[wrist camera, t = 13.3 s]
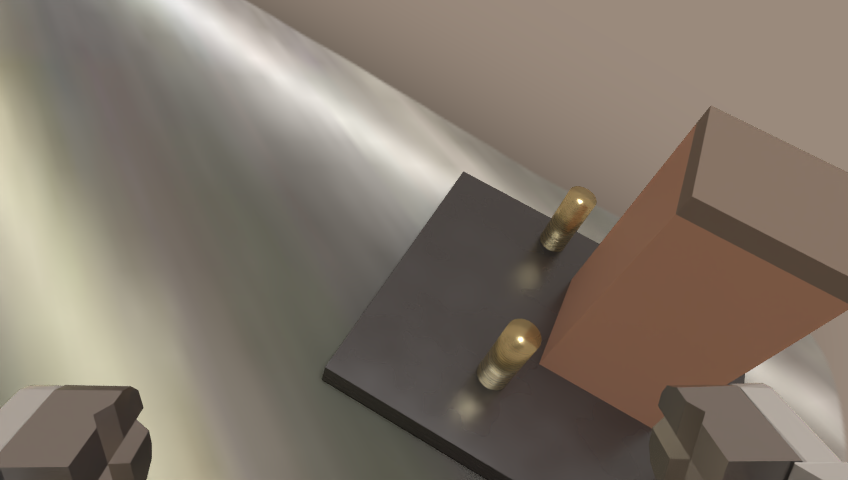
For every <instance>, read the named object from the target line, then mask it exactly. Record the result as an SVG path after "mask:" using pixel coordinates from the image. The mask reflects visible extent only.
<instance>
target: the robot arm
mask: <svg viewBox="0 0 848 480" xmlns="http://www.w3.org/2000/svg"><path fill="white" fill-rule="evenodd" d="M658 406H659V408H660V410H661V411H662V413H663V415H664V416H665V417H663V418H662V419H661V420H660V421H659V422H658V423H657V424H656V425H655V426H653V427H652V432H651V436H650V441H649V452H650V463H651V466H652V469H653V473H654V476H655V478H656V480H848V462H842V461H841V460H840V459H839V458H838V457H837V456H836V455H835V454H834V453H833V452H832V451H831V450H830V449H829V447H828V446H827V445H826V444H825V443H824V442H823V441H822V440H821V439H820V438H819V437H818V436H817V435H816V434H815V433H814V432H813V430H812V429H811V428H810V427H809V426H808V425H807V424H806V423H805V422H804V421H803V420H802V419H801V418H800V417H799V416H798V415H797V413H796V412H795V411H794V410H793V409H792V408H791V407H790V406H789V405H788V404H787V403H786V402H785V401H784V400H783V399H782V398H781V397H780V395H779V394H778V393H777V392H776V391H775V390H774V389H773V388H771V387H769V386H767V385H765V384H763V383H746V384H730V385H667V386H666V387H665V389H664V390H663V391H662V393H661V396H660V400H659V404H658ZM142 409H143V405H142V401H141V398H140V395H139V391H138V390H137V389H135V388H133V387H131V386H84V385H64V386H59V385H30V386H27V387H25V388H22V389H19V390H18V391H17V393H16V394H15V395H14V396H13V397H12V398H11V399H10V400H9V401H8V402H7V403H6V404H5V405H4V406H3V407H2V408H1V409H0V480H146V479H147V475H148V471H149V467H150V463H151V459H152V443H151V438H150V434H149V430H148V429H147V428H145V427H144V426H143V425H142V424H141V423H140V422H139V421H137V420H136V419H137V417H138V415H139V414H140V412H141V411H142Z"/></svg>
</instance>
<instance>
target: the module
mask: <svg viewBox="0 0 848 480" xmlns="http://www.w3.org/2000/svg"><path fill="white" fill-rule="evenodd" d="M847 310H848V172H846V171H844V170H842V169H840V168H838V167H835V166H834V165H831V164H829V163H827V162H825V161H823V160H821V159H819V158H817V157H815V156H813V155H811V154H809V153H807V152H805V151H803V150H801V149H799V148H797V147H795V146H793V145H790V144H789V143H786V142H784V141H782V140H780V139H778V138H776V137H774V136H772V135H770V134H768V133H766V132H764V131H762V130H760V129H758V128H756V127H754V126H752V125H750V124H748V123H746V122H744V121H742V120H740V119H738V118H735V117H733V116H731V115H729V114H727V113H725V112H723V111H721V110H719V109H717V108H715V107H713V106H710V107H709V108H708V110H707V111H706V112H705V114H704V115H703V116H702V117H701V119H700V120H699V121H698V122H697V123H696V125H695V126H694V127H693V128H692V130H691V131H690V132H689V133H688V135H687V136H686V137H685V138H684V140H683V141H682V142H681V144H680V145H679V146H678V147H677V148H676V150H675V151H674V152H673V153H672V155H671V156H670V157H669V158H668V160H667V161H666V162H665V163H664V165H663V166H662V167H661V169H660V170H659V171H658V172H657V173H656V175H655V176H654V177H653V178H652V180H651V181H650V182H649V183H648V185H647V186H646V187H645V188H644V190H643V191H642V192H641V193H640V195H639V196H638V197H637V198H636V200H635V201H634V202H633V203H632V205H631V206H630V207H629V208H628V210H627V211H626V212H625V213H624V215H623V216H622V217H621V218H620V220H619V221H618V222H617V223H616V225H615V226H614V227H613V228H612V230H611V231H610V232H609V233H608V235H607V236H606V237H605V238H604V240H603V241H602V242H601V243H600V245H599V246H598V247H597V248H596V250H595V251H594V252H593V253H592V255H591V256H590V257H589V258H588V260H587V261H586V262H585V263H584V265H583V266H582V267H581V268H580V270H579V271H578V272H577V273H576V275H575V276H574V277H573V278H572V280H571V282H570V285H569V288H568V290H567V293H566V295H565V298H564V301H563V303H562V306H561V308H560V311H559V314H558V316H557V319H556V321H555V324H554V326H553V329H552V332H551V334H550V337H549V339H548V342H547V345H546V347H545V350H544V352H543V355H542V357H541V360H540V363H539V364H540V365H542V366H543V367H545V368H547V369H549V370H550V371H552V372H554V373H556V374H557V375H559V376H561V377H563V378H564V379H566V380H568V381H570V382H571V383H573V384H575V385H577V386H578V387H580V388H582V389H584V390H585V391H587V392H589V393H591V394H592V395H594V396H596V397H598V398H599V399H601V400H603V401H605V402H606V403H608V404H610V405H612V406H613V407H615V408H617V409H619V410H620V411H622V412H624V413H626V414H628V415H629V416H631V417H633V418H635V419H636V420H638V421H640V422H642V423H643V424H645V425H647V426H649V427H650V428H652V427H653V426H655V425H656V424H657V423H658V422H659V421H660V420H661V419H662V418H663V417H665V416H664V415H663V413H662V411H661V410H660V408H659V406H658V404H659V400H660V396H661V393H662V391H663V390H664V389H665V387H666V386H667V385H727V384H729V383H730V382H732V381H733V380H735V379H737V378H738V377H740V376H742V375H743V374H745V373H746V372H748V371H750V370H751V369H753V368H755V367H756V366H758V365H759V364H761V363H763V362H764V361H766V360H767V359H769V358H771V357H772V356H774V355H776V354H777V353H779V352H780V351H782V350H784V349H785V348H787V347H789V346H790V345H792V344H793V343H795V342H797V341H798V340H800V339H802V338H803V337H805V336H806V335H808V334H810V333H811V332H813V331H814V330H816V329H818V328H819V327H821V326H823V325H824V324H826V323H827V322H829V321H831V320H832V319H834V318H836V317H837V316H839V315H840V314H842V313H844V312H845V311H847Z"/></svg>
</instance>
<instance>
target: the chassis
mask: <svg viewBox="0 0 848 480" xmlns="http://www.w3.org/2000/svg"><path fill="white" fill-rule="evenodd" d="M596 203H597V201H596V198H595V196H594V194H593V193H592V192H590V191H589V190H588V189H586V188H584V187H580V186H575V187H572V188H571V189H570V191H569V192H568V194H567V195H566V197H565V198H564V200H563V201H562V203H561V204H560V206H559V207H558V209H557V211H556V212H555V214H554V215H553V217H552V218H550V217H548V216H546V215H544V214H542V213H540V212H538V211H536V210H535V209H533V208H531V207H529V206H527V205H525V204H523V203H521V202H520V201H518V200H516V199H514V198H512V197H510V196H508V195H507V194H505V193H503V192H501V191H499V190H497V189H495V188H493V187H492V186H490V185H488V184H486V183H484V182H482V181H480V180H478V179H477V178H475V177H473V176H471V175H469V174H467V173H465V172H463V173H462V174H461V176H460V177H459V178H458V180H457V181H456V183H455V184H454V186H453V187H452V188H451V190H450V191H449V193H448V194H447V195H446V197H445V198H444V200H443V201H442V203H441V204H440V205H439V207H438V208H437V210H436V211H435V212H434V214H433V215H432V217H431V218H430V220H429V221H428V222H427V224H426V225H425V227H424V228H423V229H422V231H421V232H420V234H419V235H418V236H417V238H416V239H415V241H414V242H413V244H412V245H411V246H410V248H409V249H408V251H407V252H406V253H405V255H404V256H403V258H402V259H401V261H400V262H399V263H398V265H397V266H396V268H395V269H394V270H393V272H392V273H391V275H390V276H389V277H388V279H387V280H386V282H385V283H384V285H383V286H382V287H381V289H380V290H379V292H378V293H377V294H376V296H375V297H374V299H373V300H372V302H371V303H370V304H369V306H368V307H367V309H366V310H365V311H364V313H363V314H362V316H361V317H360V318H359V320H358V321H357V323H356V324H355V326H354V327H353V328H352V330H351V331H350V333H349V334H348V335H347V337H346V338H345V340H344V341H343V343H342V344H341V345H340V347H339V348H338V350H337V351H336V352H335V354H334V355H333V357H332V358H331V359H330V361H329V362H328V364H327V365H326V367H325V370H324V374H323V378H322V380H324V381H325V382H327V383H329V384H330V385H332V386H333V387H335V388H337V389H338V390H340V391H342V392H343V393H345V394H347V395H348V396H350V397H352V398H353V399H355V400H357V401H358V402H360V403H362V404H363V405H365V406H367V407H368V408H370V409H372V410H373V411H375V412H376V413H378V414H380V415H381V416H383V417H385V418H386V419H388V420H390V421H391V422H393V423H395V424H396V425H398V426H400V427H401V428H403V429H405V430H406V431H408V432H410V433H411V434H413V435H415V436H416V437H418V438H420V439H421V440H423V441H424V442H426V443H428V444H429V445H431V446H433V447H434V448H436V449H438V450H439V451H441V452H443V453H444V454H446V455H448V456H449V457H451V458H453V459H454V460H456V461H458V462H459V463H461V464H463V465H464V466H466V467H467V468H469V469H471V470H472V471H474V472H476V473H477V474H479V475H481V476H482V477H484V478H486V479H487V480H656V478H655V476H654V473H653V469H652V466H651V463H650V452H649V441H650V436H651V432H652V428H650V427H649V426H647V425H645V424H643V423H642V422H640V421H638V420H636V419H635V418H633V417H631V416H629V415H628V414H626V413H624V412H622V411H620V410H619V409H617V408H615V407H613V406H612V405H610V404H608V403H606V402H605V401H603V400H601V399H599V398H598V397H596V396H594V395H592V394H591V393H589V392H587V391H585V390H584V389H582V388H580V387H578V386H577V385H575V384H573V383H571V382H570V381H568V380H566V379H564V378H563V377H561V376H559V375H557V374H556V373H554V372H552V371H550V370H549V369H547V368H545V367H543V366H542V365H540V364H539V363H540V360H541V357H542V355H543V352H544V350H545V347H546V345H547V342H548V339H549V337H550V334H551V332H552V329H553V326H554V324H555V321H556V319H557V316H558V314H559V311H560V308H561V306H562V303H563V301H564V298H565V295H566V293H567V290H568V288H569V285H570V282H571V280H572V278H573V277H574V276H575V275H576V273H577V272H578V271H579V270H580V268H581V267H582V266H583V265H584V263H585V262H586V261H587V260H588V258H589V257H590V256H591V255H592V253H593V252H594V251H595V250H596V248H597V247H598V246H599V245H600V244H598V243H596V242H595V241H593V240H591V239H589V238H587V237H585V236H583V235H581V234H580V233H578V232H576V231H577V230H578V229H579V227H580V226H581V224H582V223H583V222H584V220H585V219H586V218H587V216H588V215H589V213H590V212H591V211H592V209H593V208H594V207H595V205H596ZM744 378H745V374H743V375H742V376H740V377H738V378H737V379H735V380H733V381H732V382H730V383H729V384H727V385H730V384H744Z"/></svg>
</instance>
